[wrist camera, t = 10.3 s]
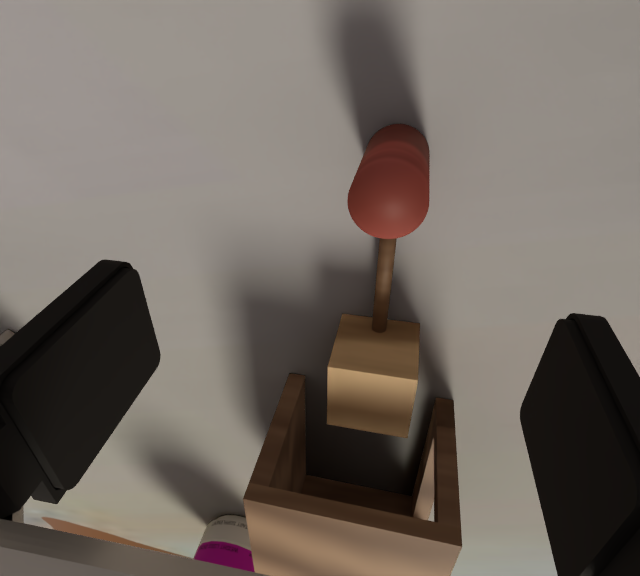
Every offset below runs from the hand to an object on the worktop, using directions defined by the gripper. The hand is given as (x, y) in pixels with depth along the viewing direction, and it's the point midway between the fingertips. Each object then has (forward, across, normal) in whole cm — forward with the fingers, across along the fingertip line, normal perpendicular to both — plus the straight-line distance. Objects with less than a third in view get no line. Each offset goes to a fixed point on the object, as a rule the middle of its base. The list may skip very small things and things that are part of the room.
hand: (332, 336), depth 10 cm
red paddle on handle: (+15, -1, +7) cm, 17 cm away
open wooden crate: (+15, -1, +24) cm, 28 cm away
